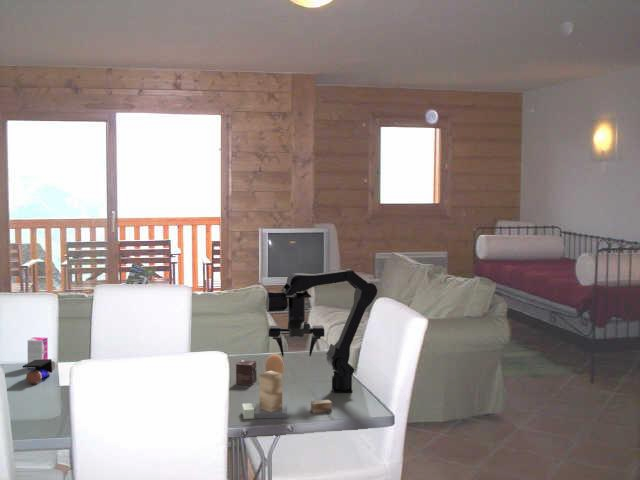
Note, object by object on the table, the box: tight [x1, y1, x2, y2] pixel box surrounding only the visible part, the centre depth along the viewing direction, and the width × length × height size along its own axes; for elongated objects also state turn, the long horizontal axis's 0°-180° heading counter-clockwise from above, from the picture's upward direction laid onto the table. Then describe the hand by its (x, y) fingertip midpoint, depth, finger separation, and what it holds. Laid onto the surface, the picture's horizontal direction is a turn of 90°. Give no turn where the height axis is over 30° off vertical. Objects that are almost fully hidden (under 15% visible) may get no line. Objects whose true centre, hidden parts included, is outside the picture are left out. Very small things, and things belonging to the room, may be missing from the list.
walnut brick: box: [310, 399, 333, 414], centre depth 221 cm, size 6×3×3 cm, turn 107°
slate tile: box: [253, 402, 288, 419], centre depth 218 cm, size 10×10×2 cm
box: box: [235, 360, 258, 386], centre depth 252 cm, size 6×6×7 cm
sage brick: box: [241, 402, 255, 420], centre depth 216 cm, size 6×3×3 cm, turn 12°
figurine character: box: [22, 358, 56, 385], centre depth 254 cm, size 7×8×15 cm
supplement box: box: [27, 336, 49, 371], centre depth 270 cm, size 6×6×12 cm
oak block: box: [258, 371, 283, 412], centre depth 218 cm, size 5×5×11 cm
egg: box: [265, 353, 285, 374], centre depth 258 cm, size 7×7×9 cm
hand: (296, 356), depth 238 cm, fingers open, 9 cm apart
